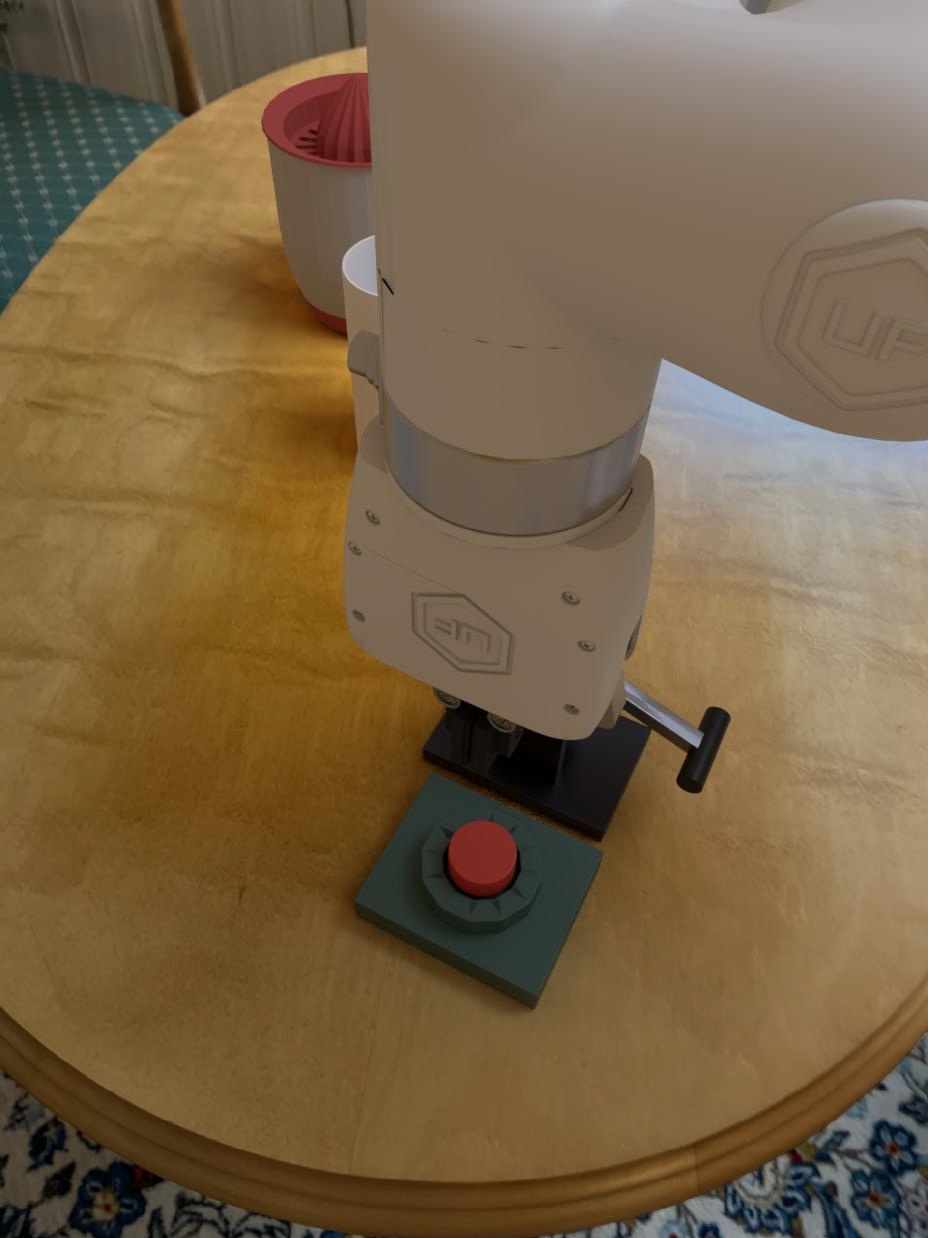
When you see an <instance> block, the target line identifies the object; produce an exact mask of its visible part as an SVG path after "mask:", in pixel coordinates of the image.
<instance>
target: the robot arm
mask: <svg viewBox="0 0 928 1238" xmlns="http://www.w3.org/2000/svg"><path fill="white" fill-rule="evenodd" d="M365 17H366V26H365V27H366V31H365V32H366V41H365V43H366V66H367V68H366V69H367V73H368V92H369V115H370V137H371V160H372V183H373V205H374V228H375V251H376V274H377V296H378V318H379V335H378V334H375V333H372V332H369V331H366V330H364V329H363V330H361V331H359V332H358V333H357V334H356V335H355V336H354V338H353V340H352V342H351V344H350V347H349V346H348V351H347V358H346V364H347V369H348V371H349V372H350V373H351V372H352V373H355V374H357V375H360V376H363V377H366V378H367V379H368V382H369V383H370V384H372V385H374V387H375V388H376V389H377V391H378V397H379V414H378V415H377V416H376V417H375V418H374V419H373V420H372V421H371V422H370V423H369V424H368V425H367V426H366V428H365V430H364V431H363V434H362V436H361V440H360V444H359V448H358V447H357V452H356V455H355V456H356V457H355V461H354V467H353V470H352V477H351V483H350V489H349V496H348V503H347V508H346V516H345V527H344V538H343V541H344V542H343V563H342V564H343V565H342V566H343V567H342V568H343V570H342V571H343V573H342V575H343V576H342V577H343V602H344V603H343V604H344V614H345V620H346V625H347V628H348V631H349V634H350V637H352V640H353V641H354V642H355V643H356V645H357V646H358V647H359V648H360V649H361V650H362V651H364V652H365V653H366V654H367V655H369V656H371V657H372V658H373V659H375V660H376V661H379V662H381V663H383V664H385V665H386V666H388V667H390V668H393V669H394V670H396V671H399V672H400V673H403V674H405V675H407V676H409V677H411V678H413V679H416V680H418V681H421V682H422V683H424V684H426V685H428V686H430V687H431V688H432V692H433V695H434V697H435V699H436V700H437V701H438V702H439V703H440V704H441V705H443V706H445V712H446V725H445V728H446V729H447V730H449V731H451V732H452V742H451V762H453V763H456V764H458V765H460V766H463V765H464V764H465V765H468V764H469V763H470V767H471V768H473V772H475V773H477V774H479V775H481V776H483V777H484V776H485V775H486V774H487V772H488V770H489V769H490V767H491V765H492V763H493V762H494V760H495V758H496V756H497V754H501V755H503V756H505V757H507V758H509V757H510V756H511V755H512V753H513V752H514V750H515V748H516V746H517V744H518V742H519V740H520V738H521V736H522V733H523V730H524V727H525V728H528V729H530V730H532V731H535V732H538V733H540V734H543V735H546V736H549V737H553V738H558V739H564V740H579V739H584V738H587V737H589V736H590V735H591V734H592V732H593V731H594V729H595V728H596V726H597V727H600V728H604V729H611V728H613V727H614V725H615V723H616V721H617V719H618V717H619V715H621V714H622V711H623V707H624V705H625V703H626V693H625V683H624V679H625V674H624V665H625V662H626V661H628V660H629V659H630V658H631V657H632V656H633V653H634V652H635V650H636V647H637V644H638V641H639V638H640V635H641V631H642V626H643V624H644V623H643V622H644V618H645V614H646V613H645V612H646V608H647V602H648V597H649V590H650V584H651V577H652V569H653V562H654V552H655V551H654V549H655V530H656V492H655V491H656V490H655V482H654V481H655V480H654V471H653V467H652V463H651V461H650V460H649V458H647V457H646V456H645V455H643V454H642V453H641V450H642V445H643V441H644V437H645V433H646V429H647V424H648V419H649V416H650V411H651V407H652V402H653V399H654V394H655V391H656V388H657V387H656V386H657V383H658V379H659V374H660V373H659V372H660V370H661V365H662V362H663V360H665V361H666V362H668V363H671V364H673V365H675V366H676V367H679V368H681V369H683V370H685V371H688V372H689V373H692V374H694V375H695V376H698V377H699V378H701V379H704V380H705V381H708V382H709V383H712V384H713V385H715V386H717V387H719V388H722V389H723V390H725V391H728V392H730V393H732V394H734V395H736V396H738V397H740V398H743V399H745V400H746V401H749V402H751V403H753V404H755V405H758V406H760V407H763V408H765V409H768V410H770V411H772V412H775V413H776V414H778V415H782V416H784V417H786V418H788V419H791V420H793V421H796V422H800V423H803V424H805V425H808V426H811V427H815V428H818V429H821V430H824V431H828V432H831V433H834V434H838V435H843V436H850V437H854V438H862V439H869V440H873V441H875V440H876V441H879V442H880V441H882V442H898V443H908V442H923V441H924V442H925V441H928V0H770V2H769V4H768V6H767V8H766V11H765V12H764V13H756V14H754V13H751V12H750V11H749V10H748V9H746V8H745V7H744V6H743V5H742V3H741V1H740V0H366V16H365Z"/></svg>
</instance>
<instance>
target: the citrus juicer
mask: <svg viewBox="0 0 928 1238" xmlns="http://www.w3.org/2000/svg"><path fill="white" fill-rule="evenodd" d="M260 124H261V129H262V132H263V134H264V136H265V137H266V139H267V145H268V147H267V148H268V153H269V154H268V155H269V161H270V167H271V173H272V174H271V175H272V182H273V190H274V196H275V197H274V198H275V203H276V204H275V205H276V210H277V218H278V224H279V231H280V235H281V239H282V240H281V241H282V246H283V250H284V253H285V257H286V260H287V262H288V266H289V268H290V271H291V273H292V276H293V278H294V280H295V282H296V284H297V286H298V287H297V288H298V291H299V292H300V294H301V296H302V298H303V300H304V302H305V303H306V305H307V307H308V308H309V310H310V312H311V313H312V314H313V316H314V317H315V318H316V319H317V320H318V321H319V322H320V323H322V324H323V325H325V326H326V327H328V328H330V329H332V330H335V331H337V332H339V333H344V334H347V323H346V312H345V301H344V290H343V278H342V262H343V258H344V256H345V254H346V253H347V251H348V250H349V249H350V248H351V247H352V246H353V245H355V244H356V243H358V242H359V241H361V240H363V239H365V238H368V237H370V236H373V235H375V228H374V205H373V183H372V160H371V137H370V115H369V92H368V72H347V73H336V74H331V75H330V74H329V75H323V76H319V77H315V78H312V79H308V80H304V81H302V82H299V83H296V84H293V85H292V86H290V87H288V88H286V89H284V90H283V91H281V92H279V93H278V94H277V95H275V96H274V97H273V98H272V99H270V101H269V102H268V103H267V105H266V106H265V108H264V109H263V113H262V116H261V121H260Z"/></svg>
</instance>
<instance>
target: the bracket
mask: <svg viewBox="0 0 928 1238" xmlns="http://www.w3.org/2000/svg"><path fill="white" fill-rule="evenodd" d="M445 725H446V711H444V713H443V715H442V717H441V719H440V720H439V721H438V723H437V725H436V727H435V728H434V730H433V731H432V733H431V735H430V736H429V737H428V739H427V741H426V742H425V744H424V746H423V747H422V759H423V760H424V761H426V762H428V763H431V764H433V765H435V766H437V767H439V768H441V769H443V770H446V771H448V772H450V773H452V774H454V775H456V776H457V777H460V778H463V779H465V780H467V781H469V782H471V783H473V784H476V785H478V786H480V787H482V788H484V789H486V790H488V791H491V792H493V793H495V794H497V795H499V796H501V797H503V798H506V799H508V800H509V801H512V802H514V803H516V804H518V805H521V806H523V807H525V808H527V809H529V810H532V811H533V812H536V813H538V814H540V815H542V816H544V817H547V818H549V819H551V820H553V821H555V822H558V823H559V824H561V825H563V826H565V827H568V828H570V829H572V830H574V831H576V832H578V833H581V834H583V835H584V836H586V837H589V838H592V839H593V840H596V841H597V842H600V843H601V842H602V841H603V840H604V838H605V835H606V833H607V831H608V829H609V826H610V825H611V822H612V820H613V818H614V816H615V814H616V811H617V809H618V807H619V805H620V803H621V801H622V798H623V796H624V794H625V792H626V790H627V788H628V785H629V784H630V781H631V779H632V776H633V775H634V773H635V770H636V768H637V766H638V764H639V762H640V759H641V757H642V755H643V753H644V750H645V748H646V746H647V744H648V742H649V740H650V736H651V734H652V729H651V728H649V727H648V726H647V725H645V724H644V723H640V722H638V721H636V720H633V719H630V718H628V717H626V716H624V715H621V714H620V715H619V717H618V719H617V721H616V723H615V725H614V727H613V728H611V729H604V728H600V727H597V726H596V728H595V729H594V731H593V732H592V734H591V735H590V736H589V737H587V738H584V739H579V740H564V739H558V738H553V737H549V736H546V735H543V734H540V733H538V732H535V731H532V730H530V729H528V728H525V727H524V730H523V733H522V736H521V738H520V740H519V742H518V744H517V746H516V748H515V750H514V752H513V753H512V755H511V756H510V757H509V758H507V757H505V756H503V755H501V754H497V756H496V758H495V760H494V762H493V763H492V765H491V767H490V769H489V770H488V772H487V774H486V775H485V776H484V777H483V776H481V775H479V774H477V773H475V772H473V768H471V767H470V763H469V764H468V765H465V764H464V765H463V766H460V765H458V764H456V763H453V762H451V742H452V732H451V731H449V730H447V729H446V728H445Z"/></svg>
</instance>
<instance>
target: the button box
mask: <svg viewBox="0 0 928 1238" xmlns="http://www.w3.org/2000/svg"><path fill="white" fill-rule="evenodd" d="M480 820H483V821H491V822H494V823H497V824H499V825H500V826H502V827H503V828H505V829H506V830H507V831H508V832H509V833H510V834H511V836H512V837H513V839H514V841H515V844H516V848H517V858H516V865H515V872H514V875H513V878H512V880H511V882H510V883H509V884H508V886H507V887H506V888H505V889H503V890H502V891H500V892H499V893H497V894H494V895H491V896H484V897H481V896H474V895H470V894H468V893H466V892H464V891H463V890H461V889H460V888H459V887H458V886H457V885H456V884H455V883H454V881H453V880H452V878H451V875H450V872H449V866H448V858H449V844H450V841H451V839H452V837H453V836H454V834H455V833H456V832H457V830H459V829H460V828H461V827H462V826H464V825H466V824H468V823H470V822H474V821H480ZM603 856H604V851H603V850H600V849H598V848H596V847H594V846H592V845H590V844H589V843H585V842H583V841H581V840H579V839H577V838H575V837H573V836H571V835H570V834H569V835H568V834H566V833H565V832H562V831H560V830H559V829H556V828H554V827H552V826H550V825H548V824H545V823H543V822H541V821H539V820H537V819H535V818H532V817H530V816H528V815H526V814H524V813H522V812H519V811H518V810H515V809H513V808H511V807H509V806H507V805H505V804H503V803H500V802H499V801H496V800H494V799H492V798H491V797H490V798H489V797H487V796H485V795H483V794H481V793H479V792H477V791H475V790H473V789H471V788H469V787H466V786H464V785H462V784H460V783H458V782H456V781H453V780H451V779H450V778H447V777H445V776H443V775H441V774H440V773H439V774H438V773H436V772H435V771H431V772H430V774H429V775H428V776H427V778H426V780H425V782H424V784H423V786H422V787H421V789H420V790H419V792H418V794H417V795H416V797H415V798H414V799H413V802H412V803H411V805H410V807H409V809H408V810H407V812H406V813H405V815H404V817H403V818H402V820H401V821H400V824H399V825H398V827H397V828H396V830H395V831H394V833H393V834H392V836H391V838H390V839H389V841H388V843H387V845H386V846H385V848H384V849H383V851H382V853H381V854H380V856H379V858H378V859H377V861H376V862H375V864H374V866H373V867H372V870H370V872H369V874H368V876H367V877H366V879H365V881H364V882H363V883H362V885H361V887H360V889H359V890H358V892H357V893H356V895H355V897H354V899H353V906H354V911H355V916H356V917H357V918H360V920H361V919H362V920H363V921H365V922H367V923H368V924H371V925H373V926H375V927H376V928H378V929H380V930H382V931H384V932H386V933H388V934H390V935H391V936H394V937H395V938H397V939H399V940H401V941H403V942H405V943H406V944H409V945H411V946H412V947H414V948H417V949H418V950H420V951H421V952H424V953H425V954H427V955H429V956H431V957H433V958H435V959H437V960H439V961H441V962H443V963H445V964H447V965H449V966H450V967H452V968H454V969H456V970H458V971H460V972H462V973H463V974H466V975H467V976H469V977H472V978H473V979H475V980H477V981H479V982H480V983H483V984H484V985H486V986H489V987H490V988H493V989H494V990H496V991H498V992H499V993H502V994H503V995H506V996H507V997H508V998H511V999H513V1000H515V1001H517V1002H519V1003H520V1004H522V1005H524V1006H526V1007H528V1008H530V1009H532V1010H536V1008H537V1006H538V1003H539V1001H540V999H541V996H542V994H543V992H544V990H545V988H546V985H547V983H548V981H549V979H550V977H551V975H552V973H553V971H554V968H555V966H556V964H557V961H558V959H559V957H560V955H561V953H562V951H563V948H564V947H565V944H566V942H567V940H568V937H569V935H570V933H571V931H572V929H573V926H574V924H575V922H576V920H577V918H578V915H579V913H580V911H581V909H582V906H583V905H584V902H585V900H586V898H587V897H588V893H589V891H590V889H591V887H592V885H593V882H594V880H595V878H596V876H597V874H598V871H599V869H600V867H601V863H602V860H603V858H604V857H603Z"/></svg>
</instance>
